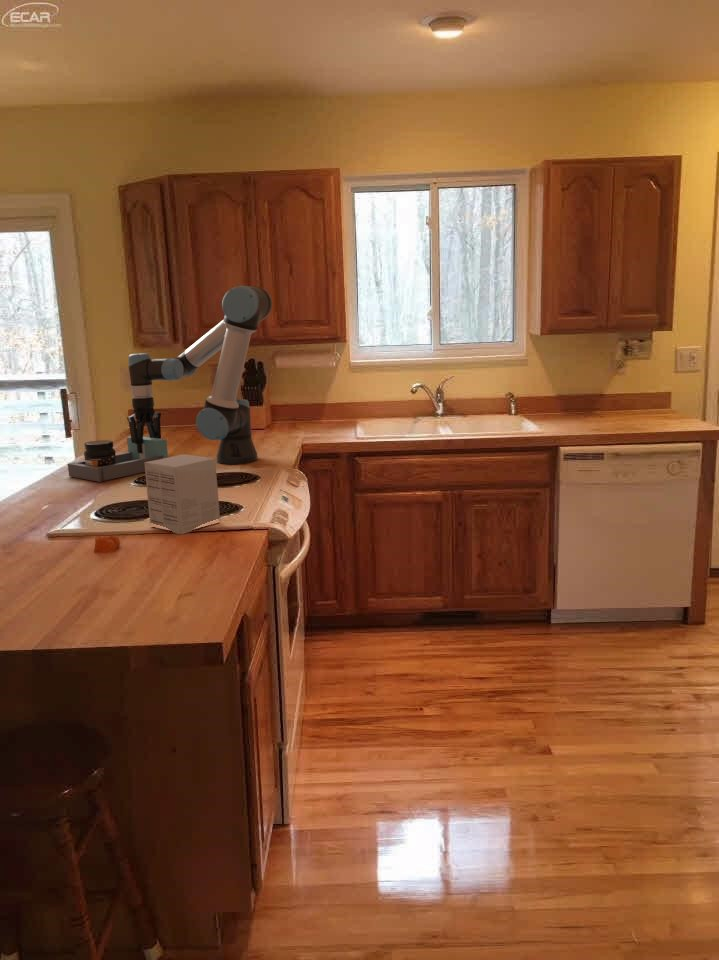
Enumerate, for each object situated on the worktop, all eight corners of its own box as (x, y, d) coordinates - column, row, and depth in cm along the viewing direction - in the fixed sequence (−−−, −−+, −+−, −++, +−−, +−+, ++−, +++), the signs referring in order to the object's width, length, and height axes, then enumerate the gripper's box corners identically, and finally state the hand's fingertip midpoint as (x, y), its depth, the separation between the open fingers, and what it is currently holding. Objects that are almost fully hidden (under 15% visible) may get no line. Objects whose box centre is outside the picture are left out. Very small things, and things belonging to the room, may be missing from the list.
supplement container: (85, 480, 266) (81, 445, 264) (87, 474, 276) (83, 440, 274) (117, 477, 269) (114, 443, 266) (118, 471, 279) (114, 438, 276)
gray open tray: (168, 466, 284) (166, 439, 281) (99, 481, 261) (95, 452, 259) (138, 461, 295) (135, 435, 292) (69, 476, 272) (65, 448, 270)
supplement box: (189, 516, 214) (184, 453, 211) (221, 523, 206) (216, 458, 202) (149, 527, 204) (142, 461, 201) (180, 535, 196) (174, 467, 192)
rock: (140, 543, 193) (139, 526, 192) (125, 559, 181) (124, 541, 180) (92, 544, 193) (90, 528, 192) (74, 560, 181) (72, 542, 180)
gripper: (155, 393, 291) (160, 455, 296) (116, 399, 278) (122, 463, 283) (168, 394, 286) (173, 457, 291) (129, 399, 273) (135, 465, 278)
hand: (148, 460), depth 287 cm, fingers closed on gray open tray, 4 cm apart
